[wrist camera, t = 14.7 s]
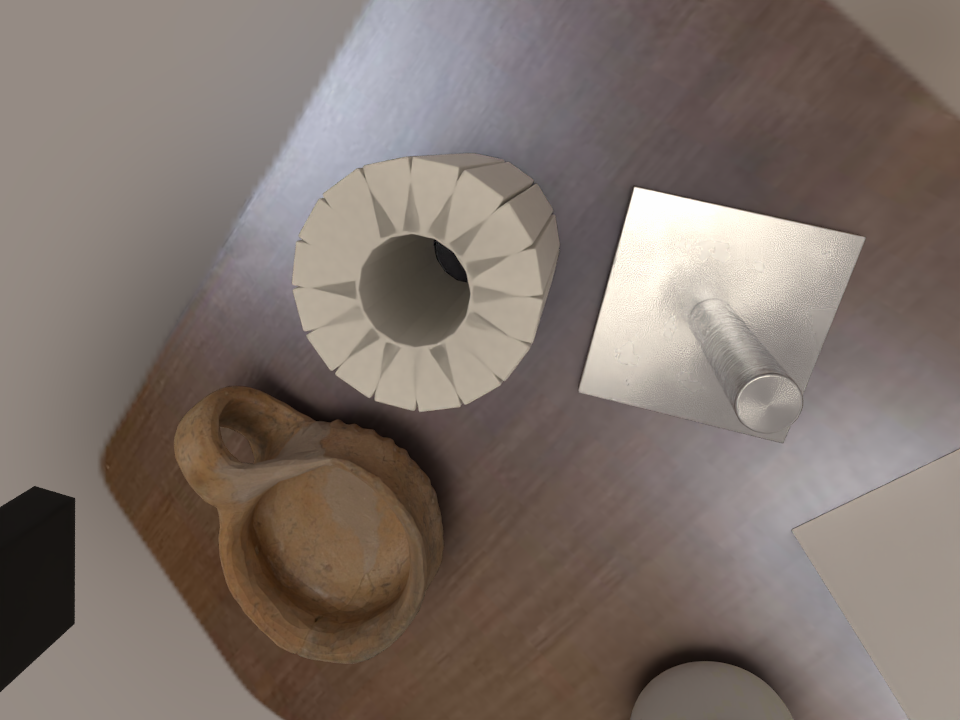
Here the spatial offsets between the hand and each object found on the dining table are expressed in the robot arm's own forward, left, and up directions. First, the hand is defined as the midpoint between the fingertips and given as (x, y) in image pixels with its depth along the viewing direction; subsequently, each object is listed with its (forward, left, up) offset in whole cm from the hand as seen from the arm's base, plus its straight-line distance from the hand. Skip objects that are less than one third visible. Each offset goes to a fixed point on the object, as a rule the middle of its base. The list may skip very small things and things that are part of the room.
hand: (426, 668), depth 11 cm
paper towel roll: (-2, -5, -29) cm, 29 cm away
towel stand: (-1, +9, -29) cm, 30 cm away
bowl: (+15, -11, -29) cm, 35 cm away
